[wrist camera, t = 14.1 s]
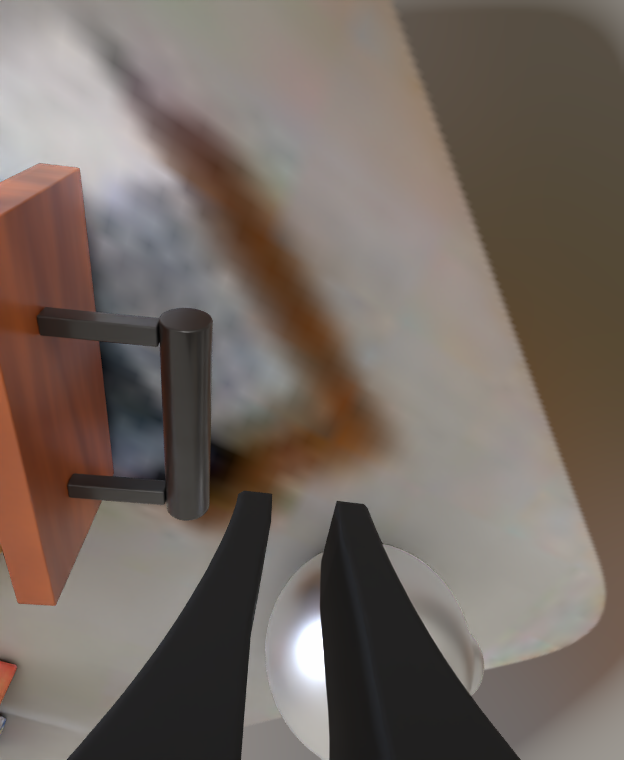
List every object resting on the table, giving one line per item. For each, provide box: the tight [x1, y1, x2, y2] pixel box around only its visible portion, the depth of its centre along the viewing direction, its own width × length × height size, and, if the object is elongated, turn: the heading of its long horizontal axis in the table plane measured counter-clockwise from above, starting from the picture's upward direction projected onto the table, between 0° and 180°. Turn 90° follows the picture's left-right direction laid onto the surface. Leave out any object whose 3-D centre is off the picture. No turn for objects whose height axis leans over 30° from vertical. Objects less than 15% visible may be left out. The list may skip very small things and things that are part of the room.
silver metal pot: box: [265, 544, 484, 760], centre depth 23 cm, size 9×10×10 cm
